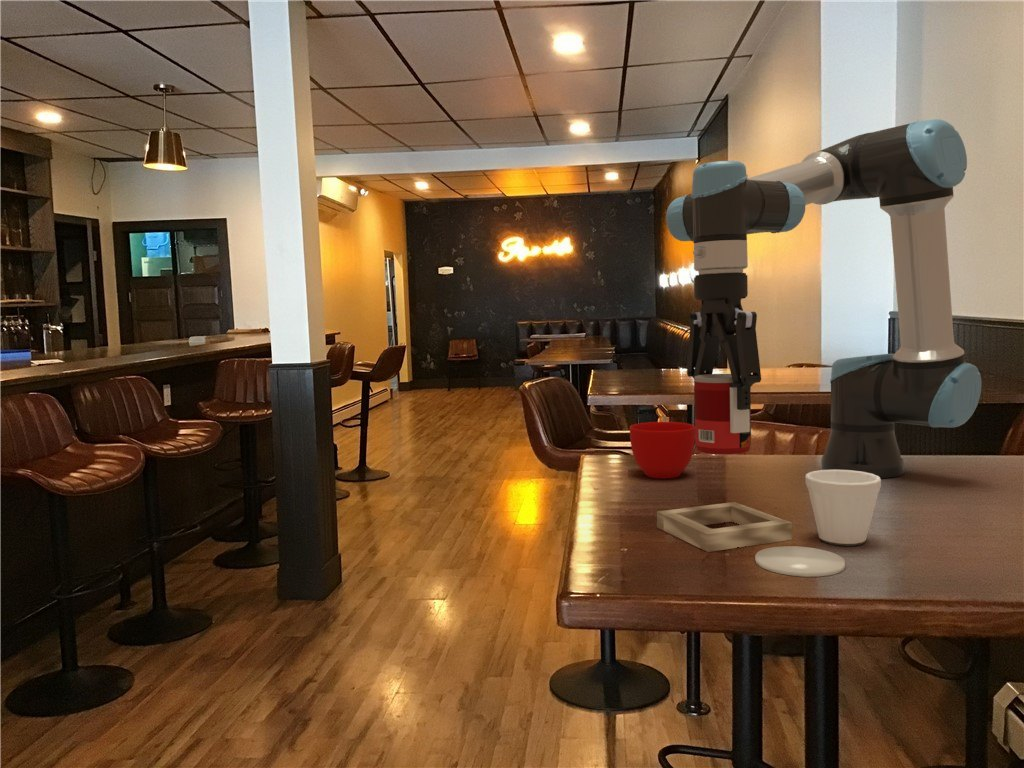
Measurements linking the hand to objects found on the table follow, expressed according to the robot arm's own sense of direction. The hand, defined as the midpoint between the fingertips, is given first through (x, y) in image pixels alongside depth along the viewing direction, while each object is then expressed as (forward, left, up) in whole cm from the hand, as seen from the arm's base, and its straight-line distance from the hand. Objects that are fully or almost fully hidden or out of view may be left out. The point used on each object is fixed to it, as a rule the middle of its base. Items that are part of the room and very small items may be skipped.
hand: (722, 428), depth 119 cm
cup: (-13, +10, -16) cm, 23 cm away
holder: (0, 0, -16) cm, 16 cm away
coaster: (-1, +16, -16) cm, 23 cm away
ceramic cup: (-15, -42, -16) cm, 47 cm away
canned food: (0, 0, -4) cm, 4 cm away
